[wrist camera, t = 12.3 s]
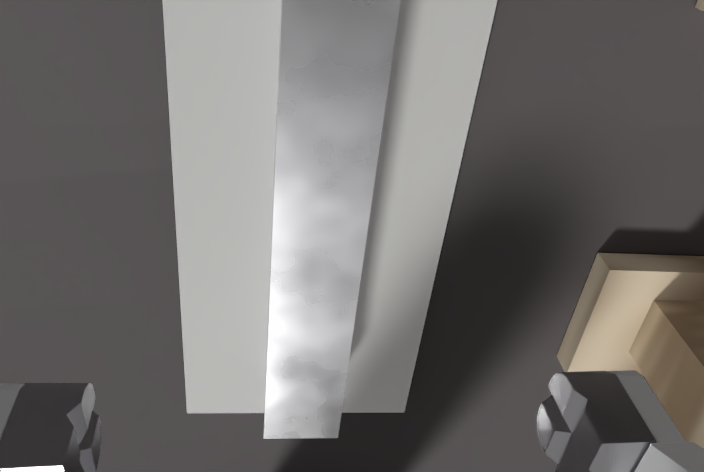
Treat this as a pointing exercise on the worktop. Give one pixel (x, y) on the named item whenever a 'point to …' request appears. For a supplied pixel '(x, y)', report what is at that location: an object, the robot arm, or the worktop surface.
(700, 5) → the hook post
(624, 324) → the hook post
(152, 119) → the worktop surface
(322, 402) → the steel bar
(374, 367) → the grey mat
